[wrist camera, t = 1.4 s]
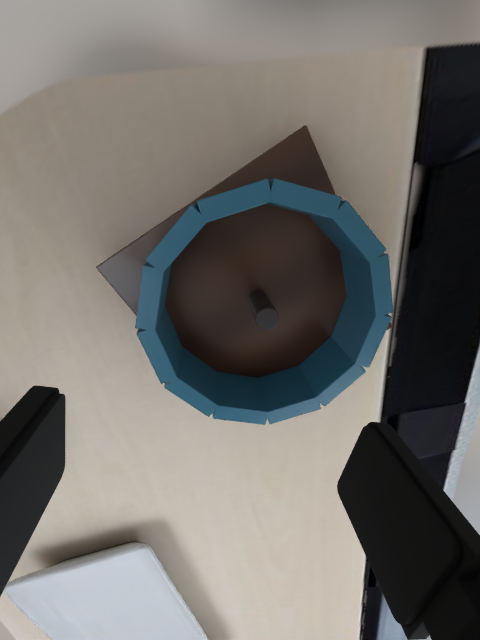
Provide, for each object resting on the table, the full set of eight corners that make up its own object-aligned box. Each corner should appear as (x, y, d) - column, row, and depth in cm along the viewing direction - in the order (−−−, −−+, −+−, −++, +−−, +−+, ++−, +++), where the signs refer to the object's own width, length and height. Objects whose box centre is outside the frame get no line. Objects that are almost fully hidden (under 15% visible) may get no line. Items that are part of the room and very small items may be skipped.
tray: (153, 517, 35) (148, 549, 32) (224, 639, 47) (225, 672, 44) (16, 554, 35) (-4, 590, 32) (122, 667, 47) (116, 701, 44)
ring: (99, 268, 21) (72, 285, 17) (305, 128, 19) (332, 109, 15) (225, 419, 27) (228, 459, 23) (390, 326, 25) (426, 352, 21)
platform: (106, 260, 23) (71, 282, 17) (295, 132, 21) (330, 106, 15) (223, 403, 30) (227, 456, 24) (377, 316, 27) (424, 349, 21)
